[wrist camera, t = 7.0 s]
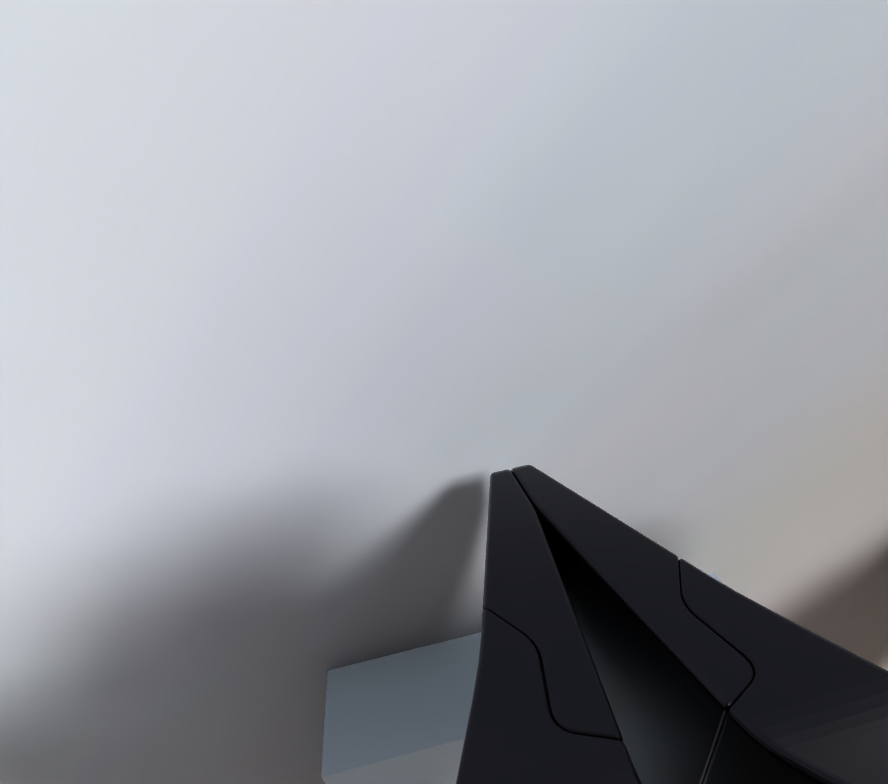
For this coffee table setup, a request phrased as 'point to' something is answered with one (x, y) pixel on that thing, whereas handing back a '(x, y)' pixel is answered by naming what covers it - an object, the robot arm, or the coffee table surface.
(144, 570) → the coffee table surface
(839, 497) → the coffee table surface
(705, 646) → the robot arm
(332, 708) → the slate tile
